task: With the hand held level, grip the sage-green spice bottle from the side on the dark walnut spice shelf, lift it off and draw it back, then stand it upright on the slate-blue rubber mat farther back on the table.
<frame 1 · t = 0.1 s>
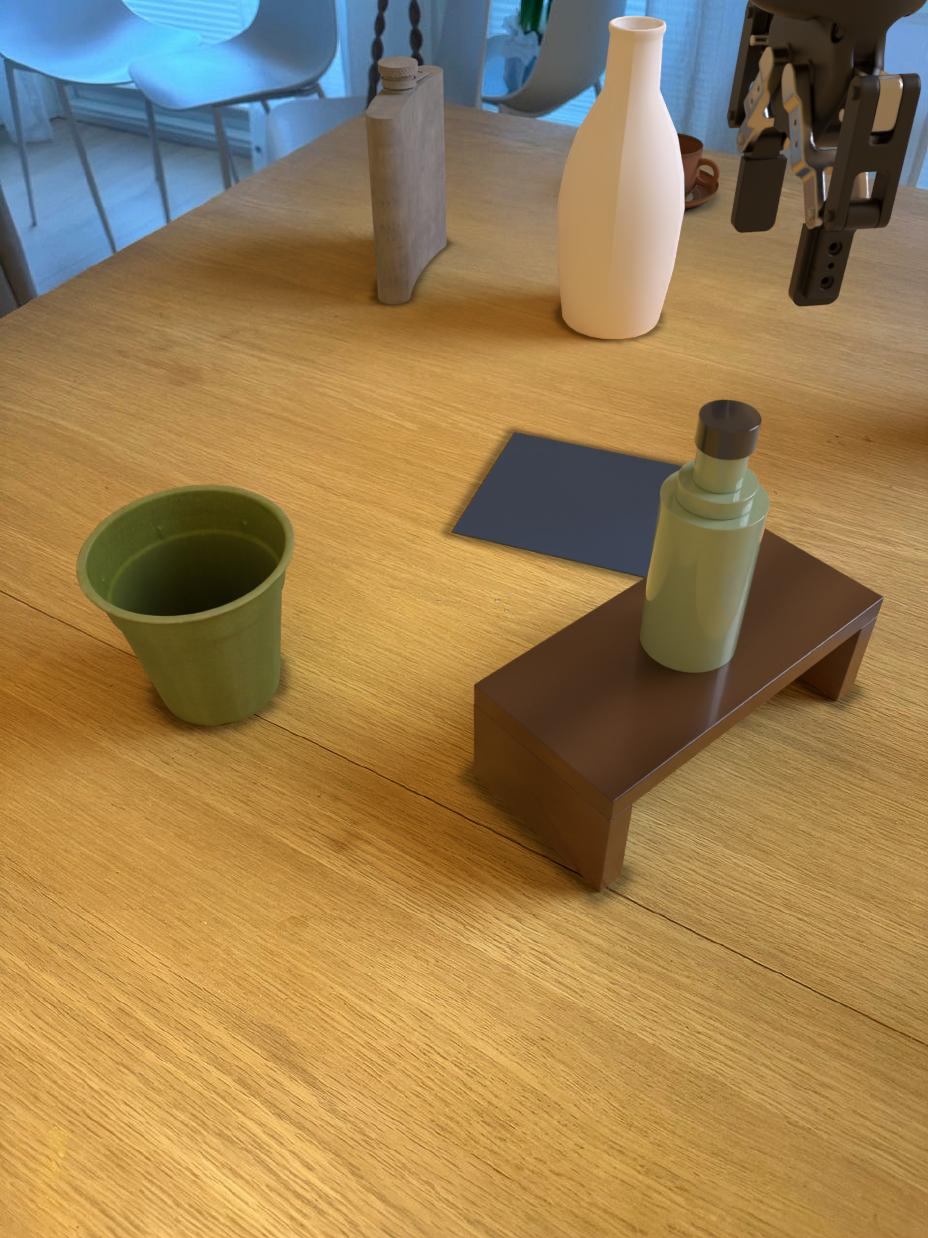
hand: (779, 263, 53), 25 cm above the table, tool pointing down, fingers open, 8 cm apart
bottle: (609, 322, 100), on the table
spice bottle: (687, 638, 57), point 8 cm above the table, touching shelf
shelf: (669, 735, 62), on the table
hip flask: (409, 274, 108), on the table
mat: (584, 505, 79), on the table
cup and saucer: (663, 200, 122), on the table
plant pot: (220, 689, 66), on the table
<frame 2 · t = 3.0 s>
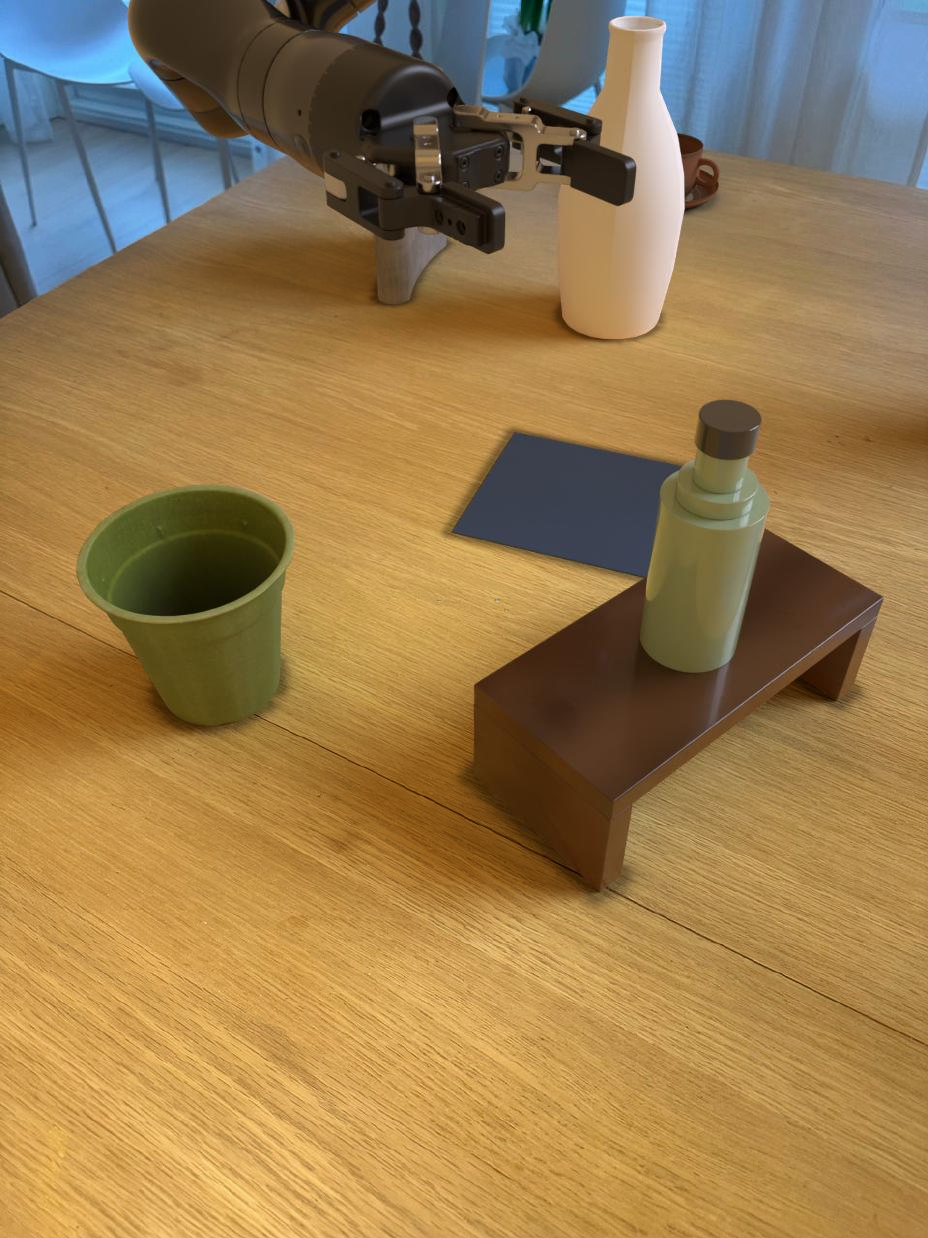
hand: (567, 206, 49), 28 cm above the table, tool horizontal, fingers open, 8 cm apart
nothing on the table moved.
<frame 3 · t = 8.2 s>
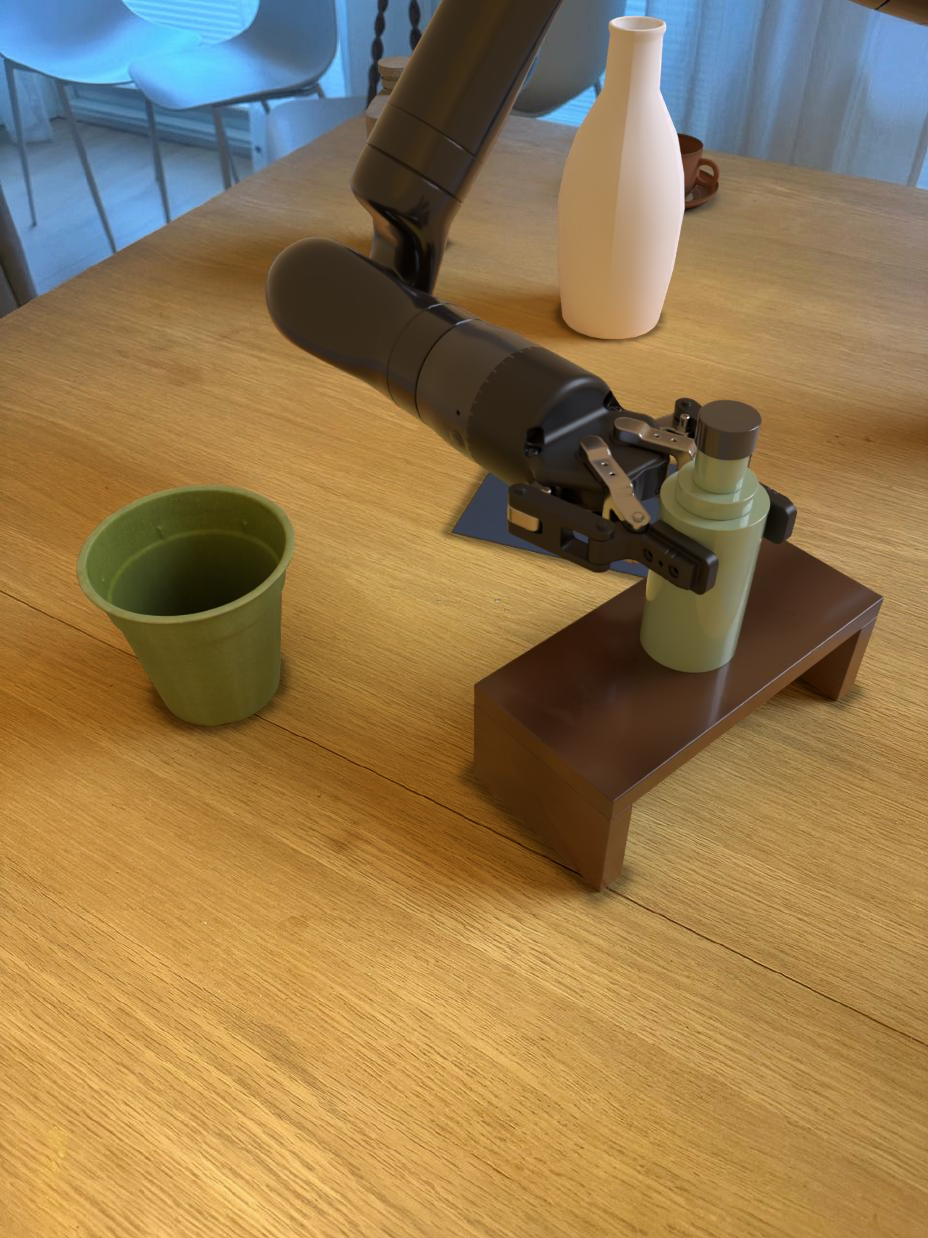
hand: (751, 550, 50), 16 cm above the table, tool horizontal, fingers closed on spice bottle, 5 cm apart
spice bottle: (687, 638, 57), point 8 cm above the table, touching gripper, shelf
everything else where it was.
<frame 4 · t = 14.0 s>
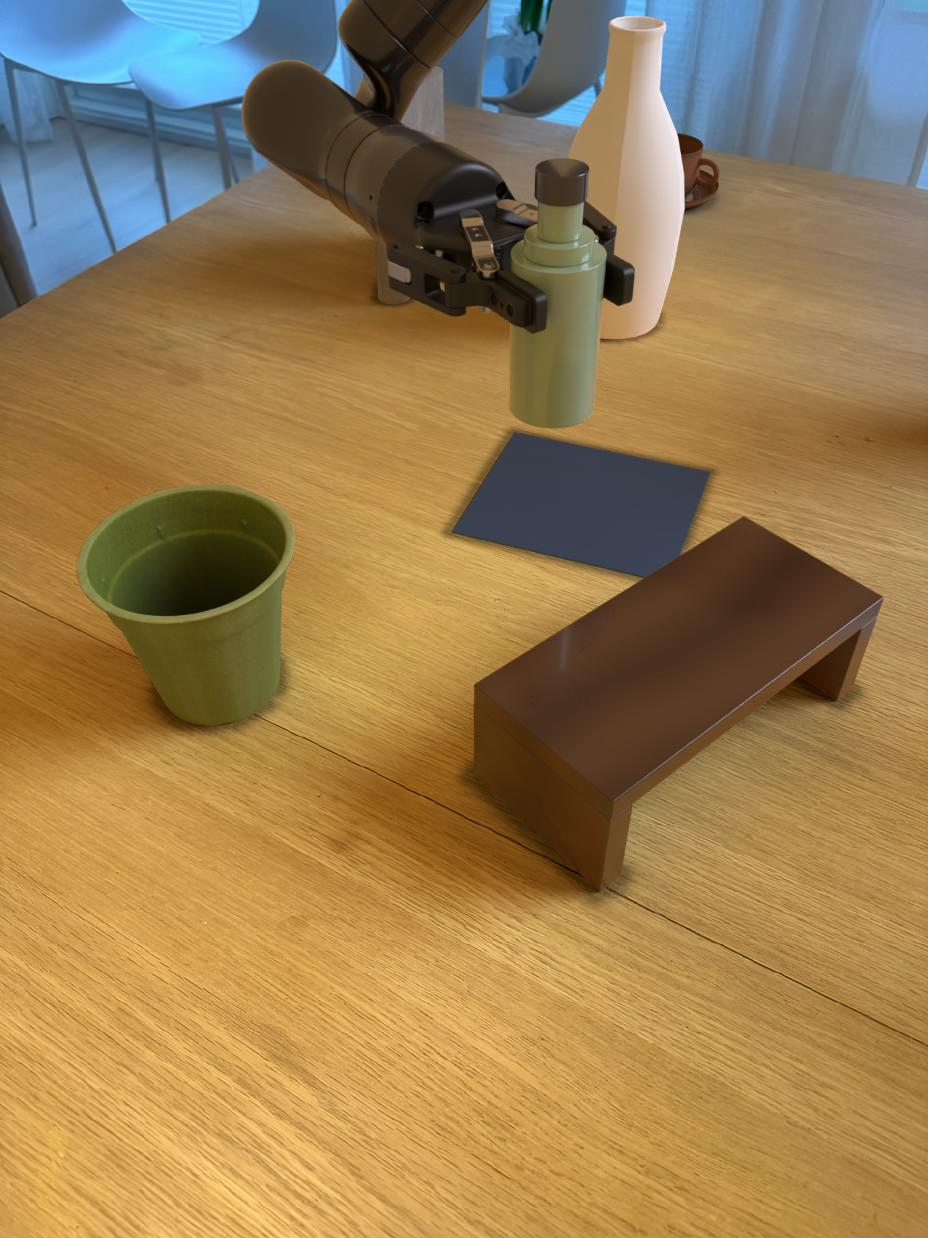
hand: (585, 301, 57), 22 cm above the table, tool horizontal, fingers closed on spice bottle, 5 cm apart
spice bottle: (551, 405, 63), point 14 cm above the table, touching gripper
everything else where it was.
when the fingers open (8 cm above the table, at t = 19.6 s): spice bottle stays where it is, resting on mat.
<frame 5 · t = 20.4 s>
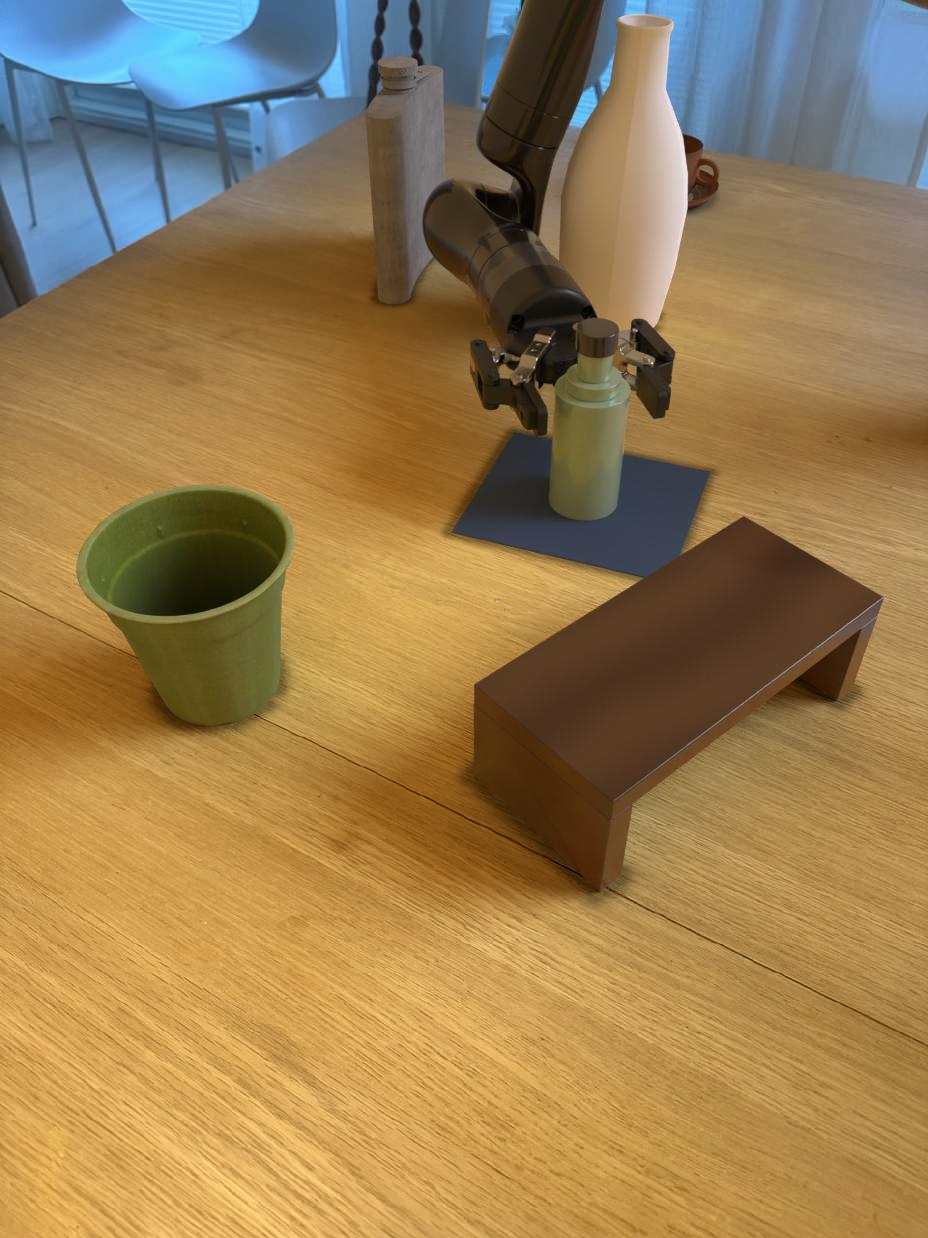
hand: (603, 415, 72), 9 cm above the table, tool horizontal, fingers open, 8 cm apart
bottle: (609, 321, 100), on the table, touching arm
spice bottle: (583, 499, 79), resting on mat
everything else where it was.
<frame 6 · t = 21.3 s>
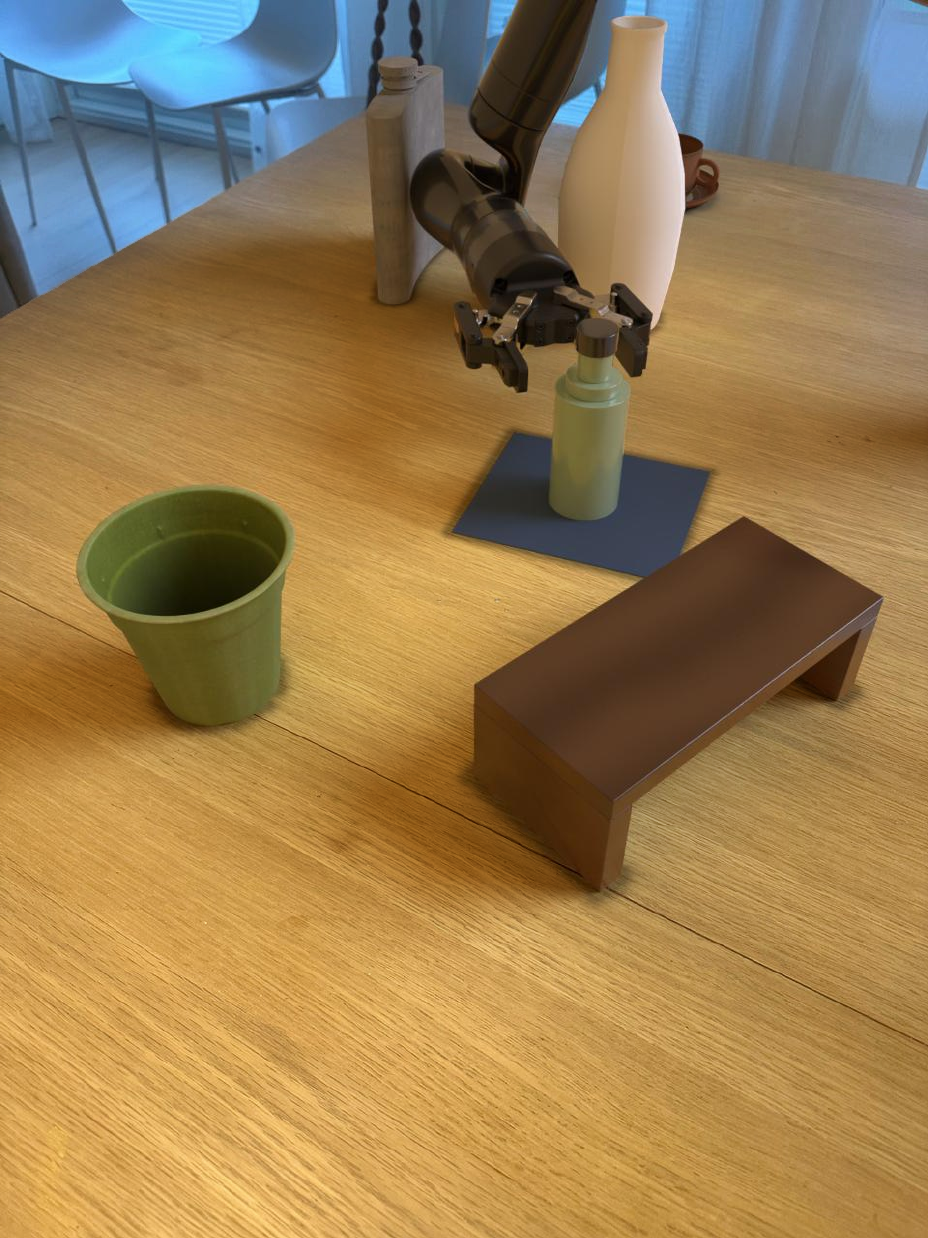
hand: (581, 373, 74), 10 cm above the table, tool horizontal, fingers open, 8 cm apart
bottle: (609, 322, 100), on the table
everything else where it was.
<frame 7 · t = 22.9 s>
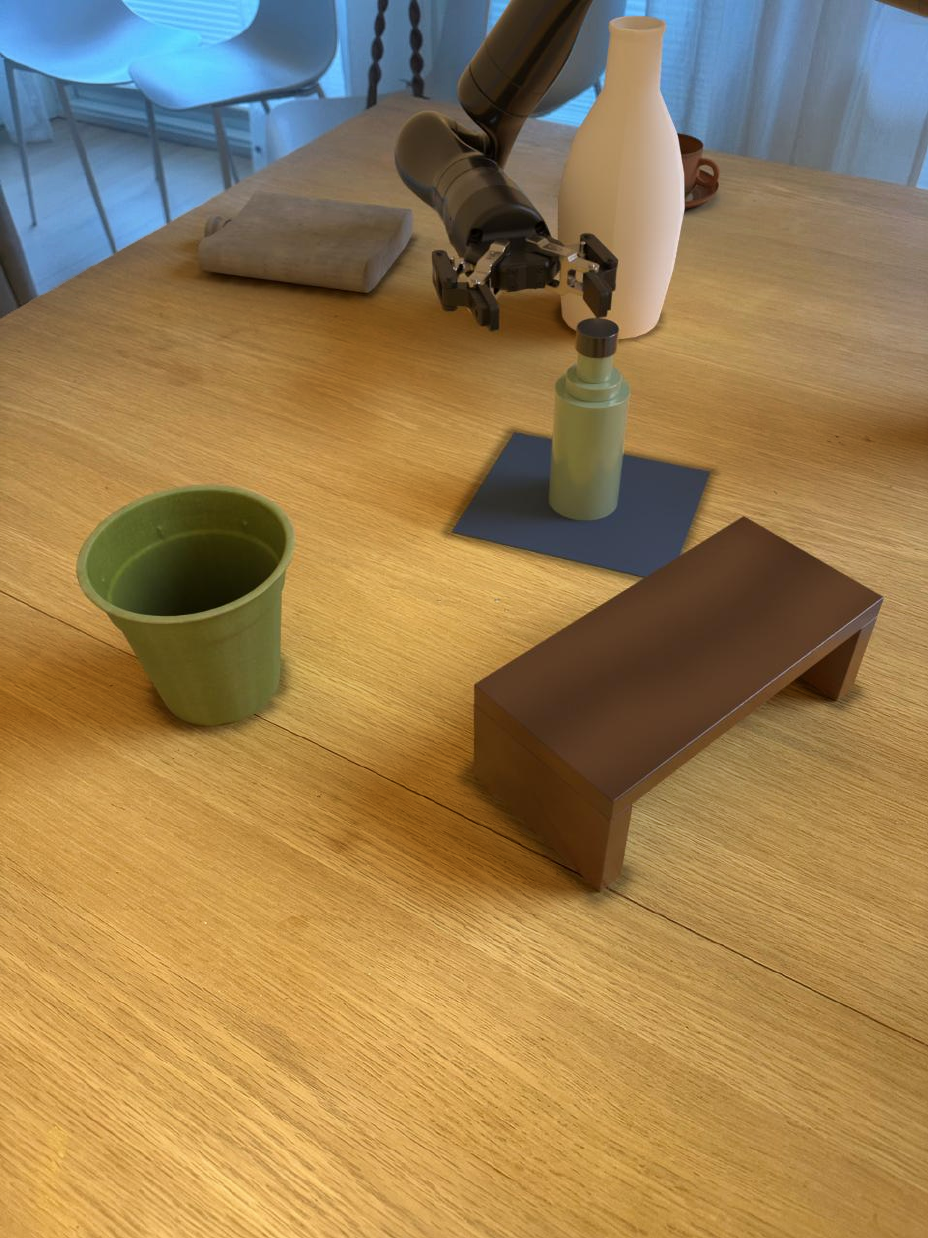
hand: (550, 312, 79), 11 cm above the table, tool horizontal, fingers open, 8 cm apart
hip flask: (391, 253, 107), point 2 cm above the table
everything else where it was.
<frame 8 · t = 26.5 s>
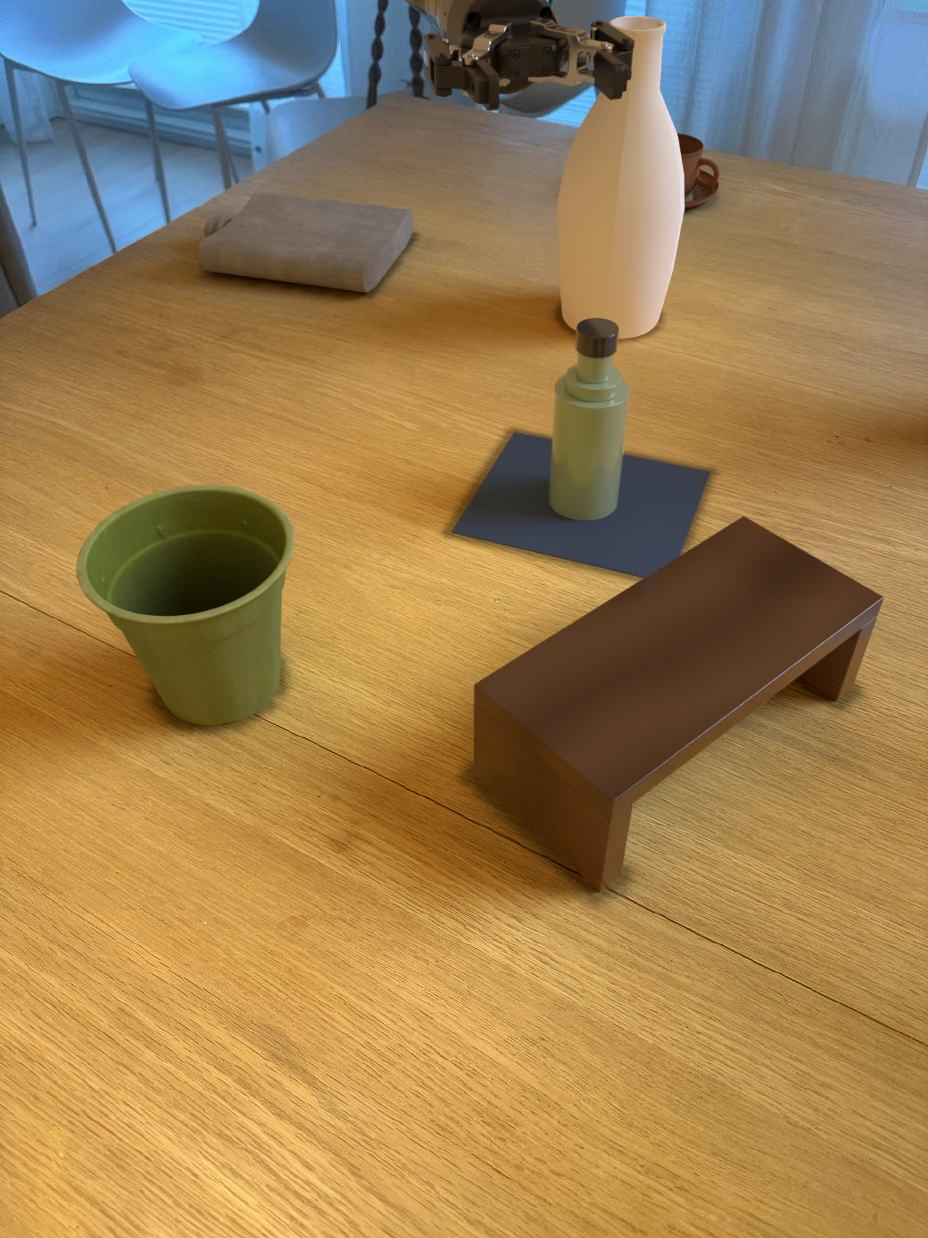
hand: (557, 88, 69), 26 cm above the table, tool horizontal, fingers open, 8 cm apart
nothing on the table moved.
at the end: spice bottle inside the target area on the mat (0.2 cm from its centre), point 0.5 cm above the mat's base; spice bottle tilted 0°; spice bottle touching mat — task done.
